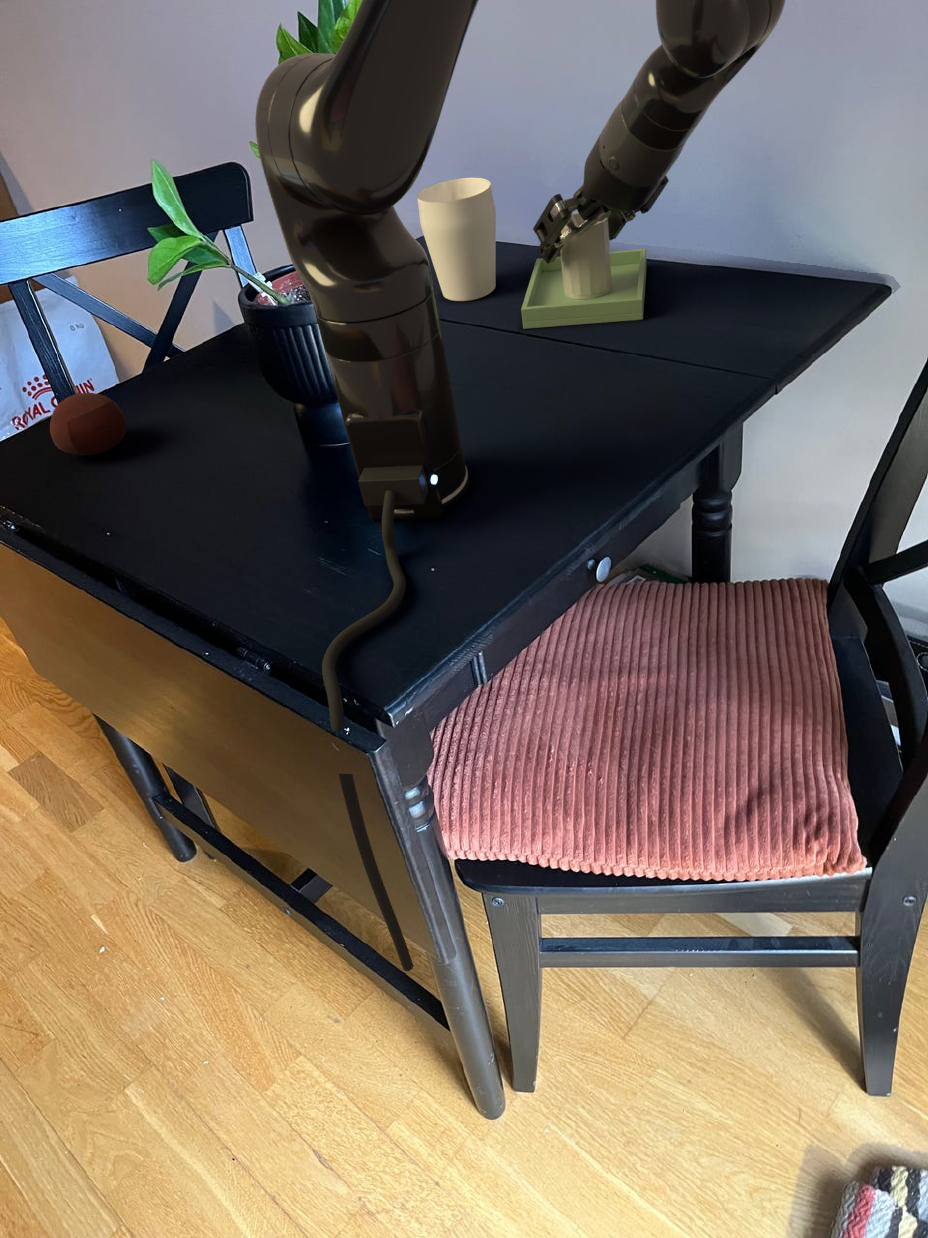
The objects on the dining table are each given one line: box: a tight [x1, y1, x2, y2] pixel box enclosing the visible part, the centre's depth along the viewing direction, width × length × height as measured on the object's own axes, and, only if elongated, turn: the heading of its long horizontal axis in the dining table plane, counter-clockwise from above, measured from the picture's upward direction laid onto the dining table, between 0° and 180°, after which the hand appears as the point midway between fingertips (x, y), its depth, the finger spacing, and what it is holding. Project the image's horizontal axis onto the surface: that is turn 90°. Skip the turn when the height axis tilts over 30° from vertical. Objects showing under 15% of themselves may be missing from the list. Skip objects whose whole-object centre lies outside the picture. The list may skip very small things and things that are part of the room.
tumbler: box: [559, 211, 612, 300], centre depth 104 cm, size 6×6×8 cm
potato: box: [49, 392, 127, 457], centre depth 95 cm, size 7×8×6 cm
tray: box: [520, 248, 648, 330], centre depth 106 cm, size 15×13×2 cm
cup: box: [416, 177, 497, 302], centre depth 110 cm, size 9×9×12 cm
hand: (576, 244), depth 104 cm, fingers open, 8 cm apart
